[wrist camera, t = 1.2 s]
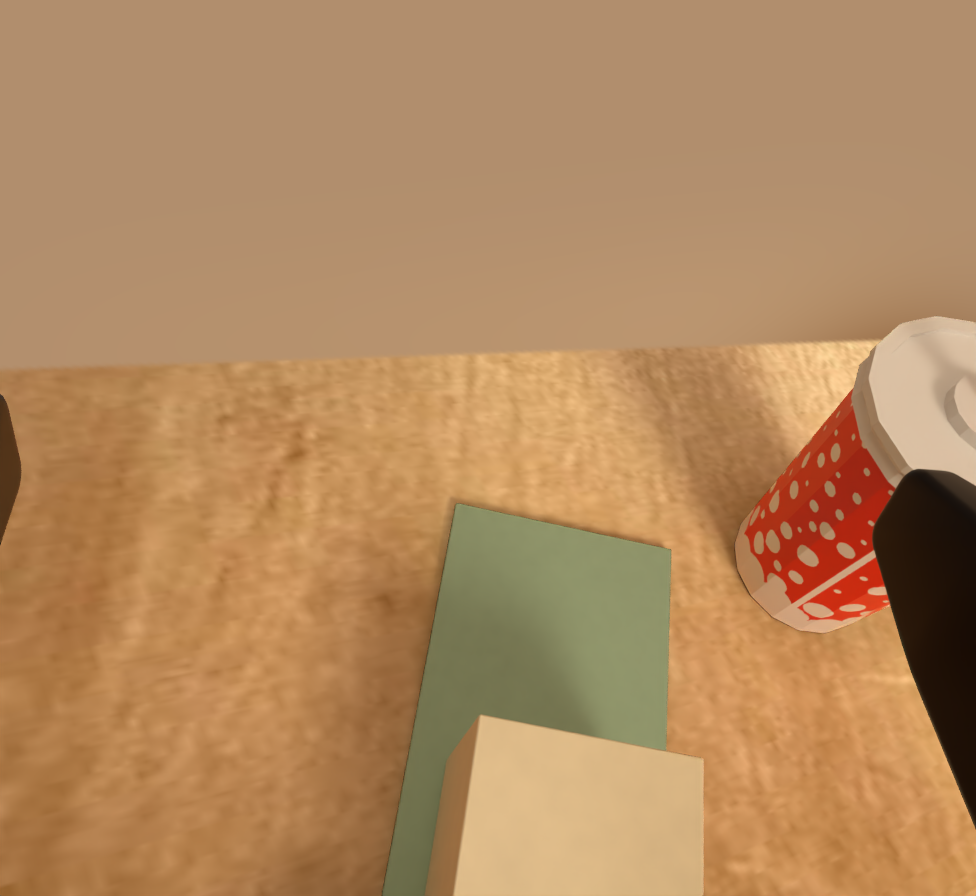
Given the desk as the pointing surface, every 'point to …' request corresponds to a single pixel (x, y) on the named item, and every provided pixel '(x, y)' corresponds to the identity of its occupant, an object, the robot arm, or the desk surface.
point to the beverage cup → (861, 477)
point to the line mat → (532, 653)
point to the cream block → (566, 816)
